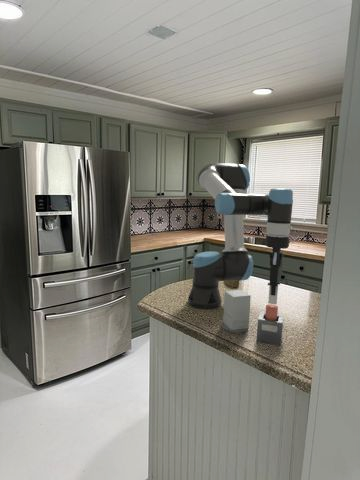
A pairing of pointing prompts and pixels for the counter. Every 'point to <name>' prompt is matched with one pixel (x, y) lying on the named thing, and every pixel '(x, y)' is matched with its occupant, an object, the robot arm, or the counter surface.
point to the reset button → (271, 312)
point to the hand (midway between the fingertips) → (272, 303)
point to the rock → (232, 283)
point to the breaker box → (270, 329)
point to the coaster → (234, 330)
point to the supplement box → (236, 309)
